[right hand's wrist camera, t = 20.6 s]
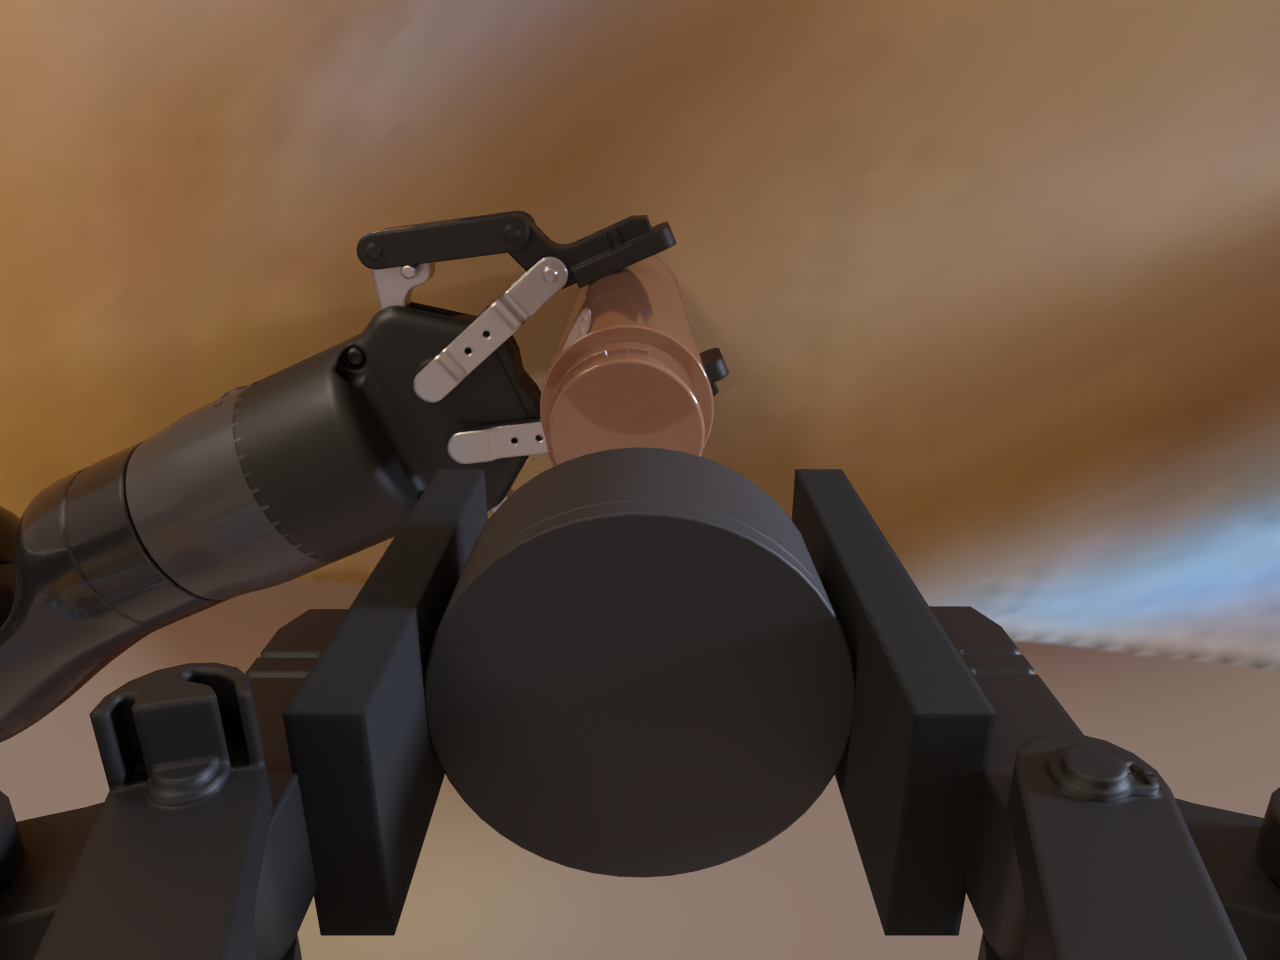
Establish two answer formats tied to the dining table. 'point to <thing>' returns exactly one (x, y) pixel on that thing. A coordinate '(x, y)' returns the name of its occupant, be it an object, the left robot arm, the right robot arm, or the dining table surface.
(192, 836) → the right robot arm
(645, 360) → the pinkish brown rounded rod
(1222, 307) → the dining table surface
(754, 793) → the lid
